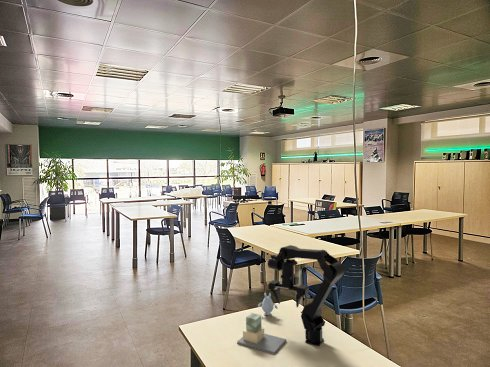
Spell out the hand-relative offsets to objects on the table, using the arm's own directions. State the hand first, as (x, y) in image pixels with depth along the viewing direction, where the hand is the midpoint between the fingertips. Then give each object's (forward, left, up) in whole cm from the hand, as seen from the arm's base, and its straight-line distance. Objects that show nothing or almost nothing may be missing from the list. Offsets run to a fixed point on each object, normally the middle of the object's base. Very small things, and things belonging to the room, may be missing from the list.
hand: (288, 305), depth 158 cm
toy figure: (+16, -10, -12) cm, 22 cm away
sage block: (+10, +16, -7) cm, 20 cm away
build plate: (+6, +16, -12) cm, 21 cm away
